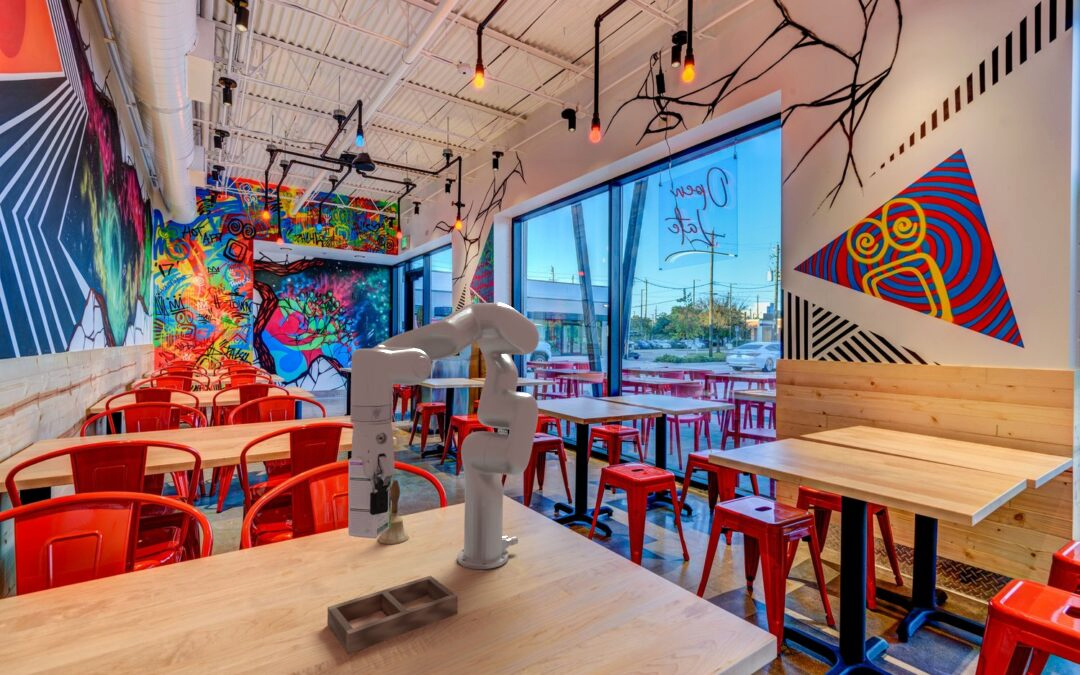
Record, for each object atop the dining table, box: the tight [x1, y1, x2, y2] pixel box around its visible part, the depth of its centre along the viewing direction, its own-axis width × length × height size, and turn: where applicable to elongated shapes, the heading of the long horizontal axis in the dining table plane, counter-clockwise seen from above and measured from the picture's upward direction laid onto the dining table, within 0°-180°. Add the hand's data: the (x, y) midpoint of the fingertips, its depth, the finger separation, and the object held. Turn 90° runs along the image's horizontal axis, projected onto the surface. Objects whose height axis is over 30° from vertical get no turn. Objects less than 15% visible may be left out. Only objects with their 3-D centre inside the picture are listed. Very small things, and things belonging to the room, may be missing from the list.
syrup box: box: [347, 457, 392, 540], centre depth 98 cm, size 6×6×14 cm
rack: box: [326, 575, 459, 655], centre depth 101 cm, size 22×11×4 cm, turn 130°
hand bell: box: [377, 479, 410, 545], centre depth 142 cm, size 8×8×16 cm
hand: (370, 506), depth 98 cm, fingers closed on syrup box, 7 cm apart
